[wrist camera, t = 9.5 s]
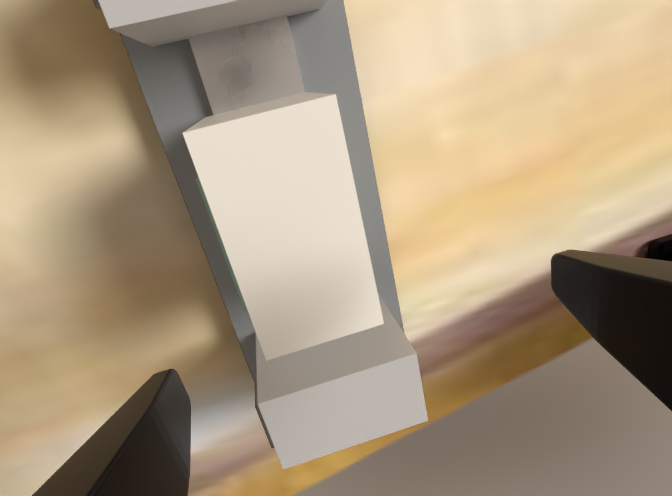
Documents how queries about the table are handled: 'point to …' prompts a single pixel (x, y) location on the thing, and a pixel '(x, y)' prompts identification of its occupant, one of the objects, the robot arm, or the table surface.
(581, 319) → the robot arm
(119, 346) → the table surface
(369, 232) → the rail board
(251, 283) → the block
